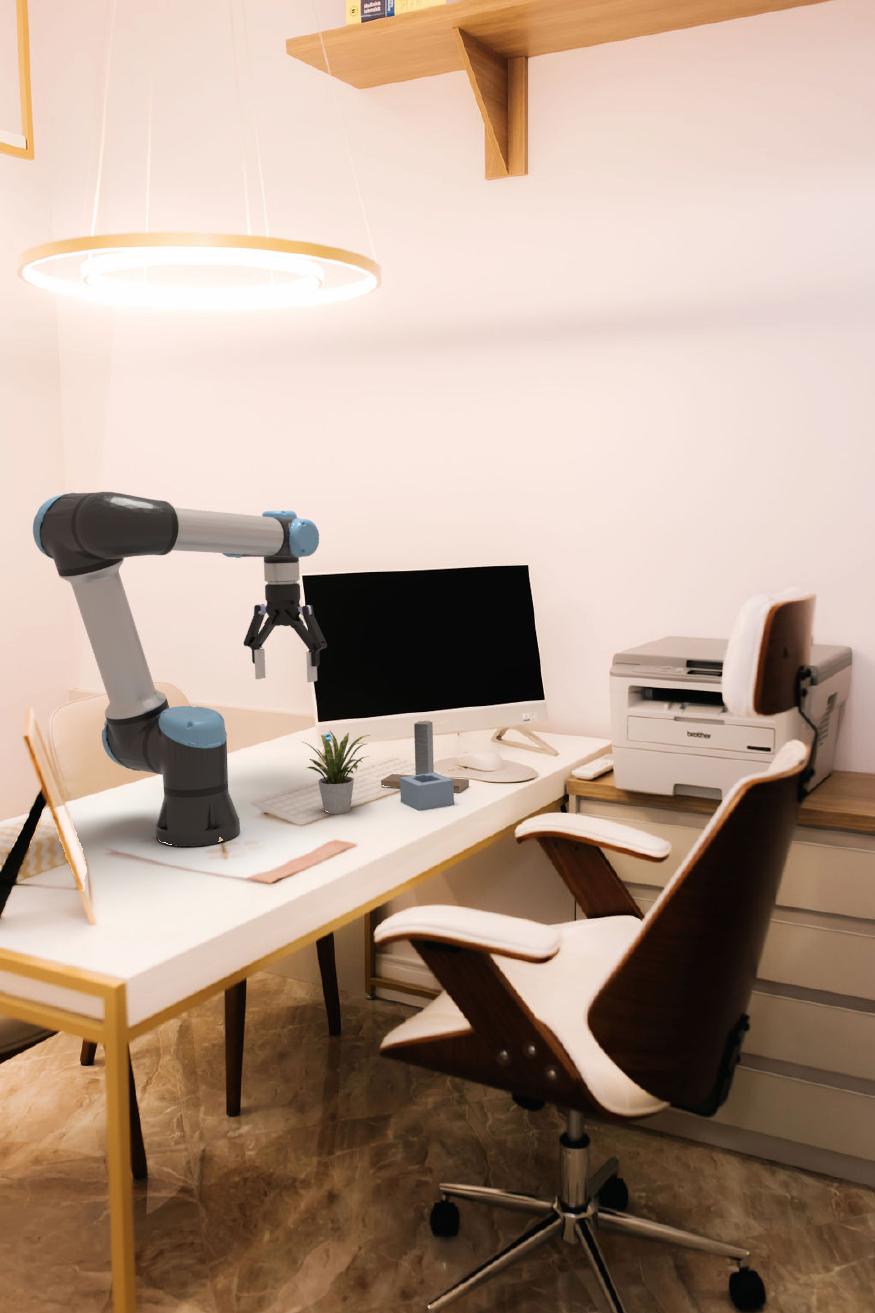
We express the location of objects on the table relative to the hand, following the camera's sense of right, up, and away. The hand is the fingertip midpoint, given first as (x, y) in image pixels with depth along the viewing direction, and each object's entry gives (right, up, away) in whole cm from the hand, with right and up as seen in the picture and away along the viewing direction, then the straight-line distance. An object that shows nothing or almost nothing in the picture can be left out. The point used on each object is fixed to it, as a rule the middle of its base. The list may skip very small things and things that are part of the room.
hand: (286, 680), depth 228 cm
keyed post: (+30, -23, -3) cm, 38 cm away
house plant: (+14, -26, -20) cm, 36 cm away
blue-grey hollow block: (+31, -25, -16) cm, 43 cm away
